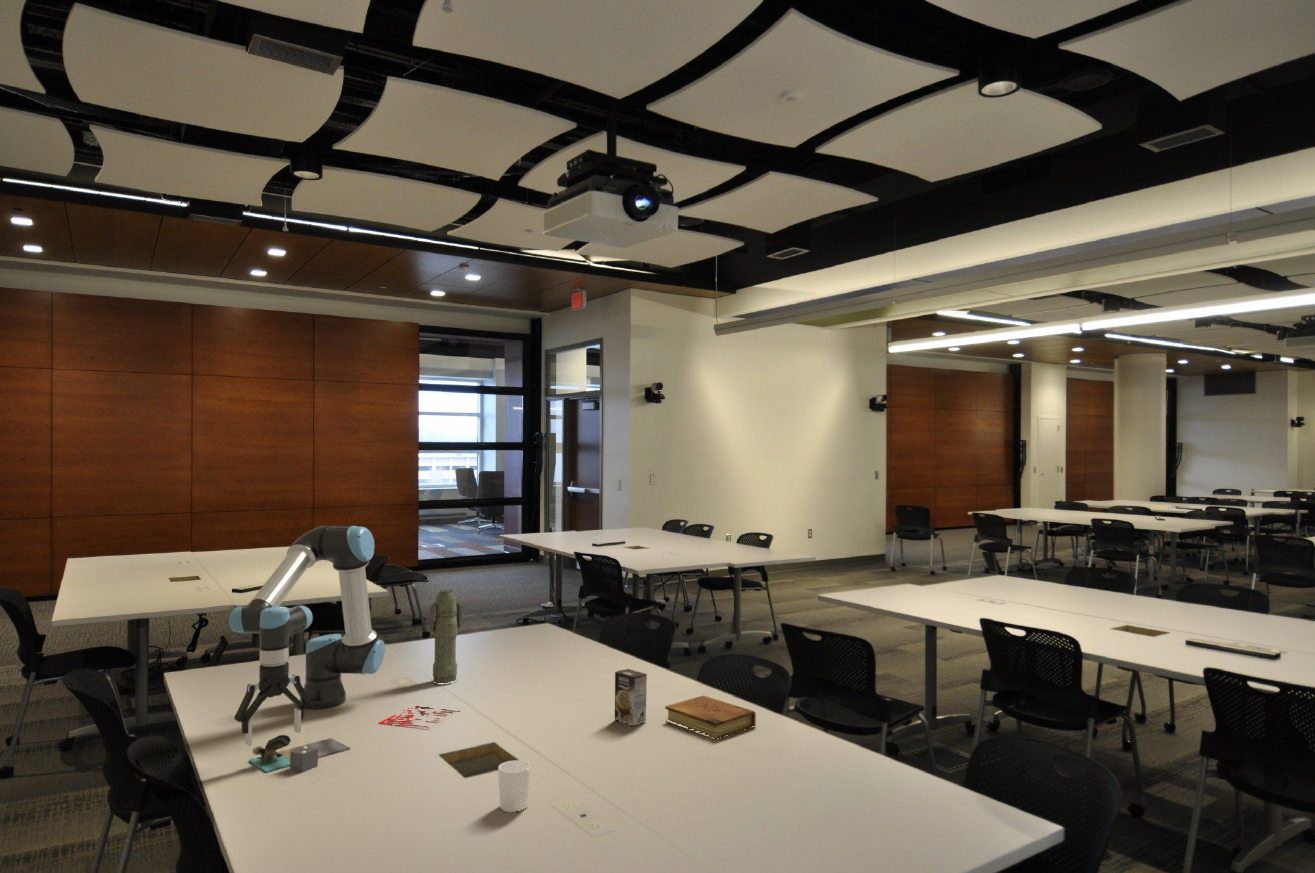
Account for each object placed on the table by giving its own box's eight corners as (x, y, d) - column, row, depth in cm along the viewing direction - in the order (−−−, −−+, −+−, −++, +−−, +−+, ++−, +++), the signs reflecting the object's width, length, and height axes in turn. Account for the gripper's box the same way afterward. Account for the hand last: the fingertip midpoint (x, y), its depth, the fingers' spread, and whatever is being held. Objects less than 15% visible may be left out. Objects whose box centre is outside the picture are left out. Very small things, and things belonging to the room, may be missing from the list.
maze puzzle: (464, 712, 271) (464, 710, 271) (431, 731, 252) (431, 729, 252) (414, 706, 277) (414, 704, 277) (378, 724, 258) (378, 722, 258)
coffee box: (613, 720, 262) (614, 671, 262) (627, 716, 266) (627, 667, 267) (633, 727, 256) (633, 676, 256) (647, 722, 260) (647, 673, 261)
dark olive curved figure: (280, 762, 220) (297, 744, 229) (265, 742, 219) (282, 725, 228) (259, 775, 221) (277, 757, 230) (244, 755, 220) (262, 738, 229)
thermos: (464, 681, 307) (465, 590, 308) (435, 687, 299) (436, 594, 300) (453, 676, 314) (455, 588, 315) (425, 681, 306) (426, 591, 307)
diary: (755, 728, 257) (755, 710, 257) (716, 742, 244) (716, 723, 244) (704, 711, 274) (704, 694, 274) (665, 722, 261) (665, 705, 261)
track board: (330, 739, 243) (330, 737, 243) (349, 749, 235) (350, 747, 235) (248, 761, 225) (248, 759, 225) (266, 772, 217) (266, 770, 217)
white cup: (499, 800, 200) (500, 760, 200) (531, 799, 201) (531, 759, 201) (496, 814, 192) (496, 772, 192) (528, 813, 193) (529, 771, 193)
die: (305, 763, 224) (305, 745, 224) (317, 766, 222) (317, 748, 222) (290, 769, 219) (290, 750, 219) (302, 772, 217) (302, 753, 217)
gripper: (311, 652, 236) (310, 723, 236) (222, 669, 218) (221, 746, 217) (323, 656, 231) (322, 729, 231) (232, 674, 213) (231, 753, 212)
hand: (273, 737), depth 224 cm, fingers open, 13 cm apart
